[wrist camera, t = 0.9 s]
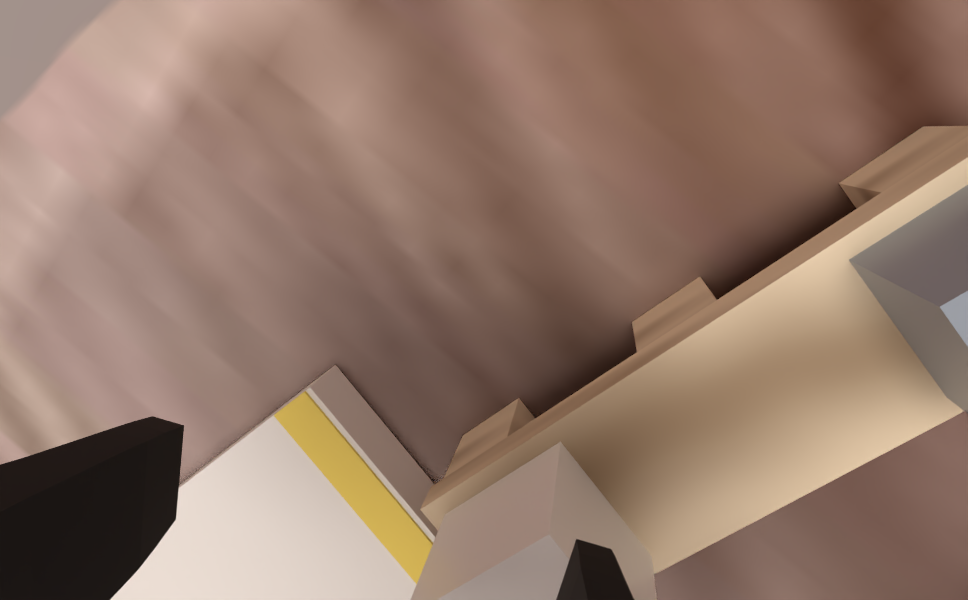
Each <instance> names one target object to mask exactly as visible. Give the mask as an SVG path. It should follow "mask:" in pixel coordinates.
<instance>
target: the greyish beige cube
mask: <svg viewBox="0 0 968 600" xmlns="http://www.w3.org/2000/svg"><path fill="white" fill-rule="evenodd" d="M576 539H579V540H582V541H586V542H589V543H593V544H596V545H599V546H603V547H606V548H610V549H612V551H613V553H614V555H615V556H616V559H617V561H618V563H619V566H620V568H621V570H622V573H623V575H624V577H625V580H626V582H627V584H628V587H629V589H630V591H631V593H632V596H633V598H634V600H657V594H656V586H655V578H654V570H653V562H652V556H651V555H650V553H649V552H648V551H647V550H646V548H645V547H644V546H643V545H642V543H641V542H640V541H639V540H638V538H637V537H636V536H635V534H634V533H633V532H632V531H631V529H630V528H629V527H628V526H627V524H626V523H625V522H624V521H623V519H622V518H621V517H620V516H619V514H618V513H617V512H616V511H615V509H614V508H613V507H612V506H611V504H610V503H609V502H608V501H607V499H606V498H605V497H604V496H603V494H602V493H601V492H600V490H599V489H598V488H597V487H596V485H595V484H594V483H593V482H592V480H591V479H590V478H589V477H588V475H587V474H586V473H585V472H584V470H583V469H582V468H581V467H580V465H579V464H578V463H577V462H576V460H575V459H574V458H573V457H572V455H571V454H570V453H569V452H568V450H567V449H566V448H565V446H564V445H563V444H562V443H561V442H559V443H558V444H556V445H554V446H553V447H551V448H550V449H548V450H546V451H545V452H543V453H542V454H540V455H538V456H537V457H535V458H534V459H532V460H531V461H529V462H527V463H526V464H524V465H523V466H521V467H519V468H518V469H516V470H515V471H513V472H512V473H510V474H508V475H507V476H505V477H504V478H502V479H500V480H499V481H497V482H496V483H494V484H492V485H491V486H489V487H488V488H486V489H485V490H483V491H481V492H480V493H478V494H477V495H475V496H473V497H472V498H470V499H469V500H467V501H466V502H464V503H462V504H461V505H459V506H458V507H456V508H454V509H453V510H451V511H450V512H448V513H446V514H445V515H444V518H443V520H442V523H441V525H440V528H439V530H438V533H437V535H436V538H435V540H434V543H433V545H432V548H431V550H430V553H429V555H428V558H427V560H426V562H425V565H424V567H423V570H422V572H421V575H420V577H419V580H418V582H417V585H416V587H415V590H414V592H413V595H412V597H411V600H556V599H557V596H558V593H559V590H560V587H561V584H562V581H563V578H564V574H565V571H566V568H567V565H568V562H569V559H570V556H571V553H572V550H573V547H574V544H575V541H576Z"/></svg>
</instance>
